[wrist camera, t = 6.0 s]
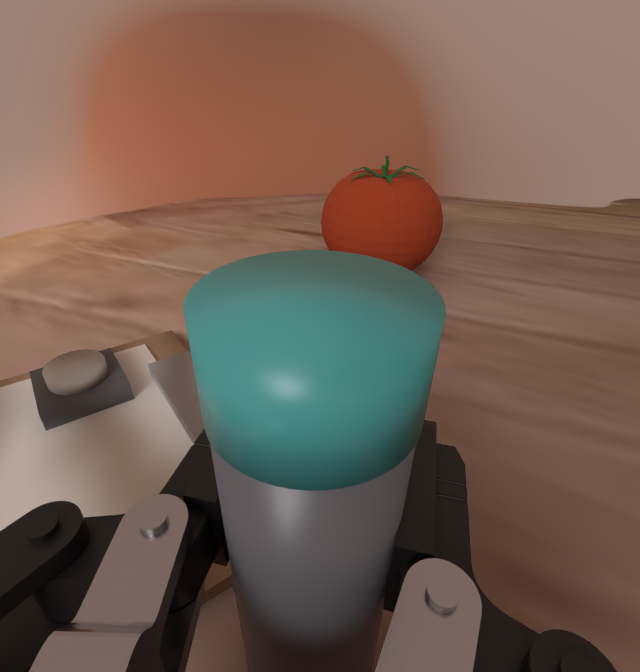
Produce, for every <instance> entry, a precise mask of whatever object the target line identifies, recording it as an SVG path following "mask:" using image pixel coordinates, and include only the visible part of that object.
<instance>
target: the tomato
mask: <svg viewBox="0 0 640 672" xmlns="http://www.w3.org/2000/svg"><path fill="white" fill-rule="evenodd" d="M388 166H389V156H386V165H382V169H372V170H371V169H369V168H366V167H362V168H364V169H365V170H361V171H356V170H358V169H356V170H353V171H356V172H353V173H351V174H350V175H348V176H346V177H345V178H343V179H342V180H341V181H340V182H339V183H338V184H337V185H336V186H335V187H334V188H333V189H332V191H331V192H330V194H329V195H328V197H327V199H326V202H325V204H324V207H323V213H322V220H321V225H322V234H323V237H324V240H325V243H326V245H327V247H328V249H329V250H330V251H339V252H348V253H355V254H360V255H366V256H370V257H374V258H378V259H382V260H385V261H388V262H392V263H394V264H397V265H399V266H402V267H405V268H407V269H409V270H413V269H414V268H416V267H417V266H418V265H419V264H421V263H422V262H424V261H425V260H426V259H427V257H428V256H429V255H430V254H431V253H432V251H433V250H434V248H435V246H436V244H437V243H438V241H439V238H440V235H441V231H442V221H443V215H442V209H441V204H440V201H439V199H438V196H437V194H436V193H435V191H434V190H433V189H432V188H431V186H430V185H429V184H428V183H427V182H425V181H424V180H423V179H424V178H422V177H420V176H418V175H416V174H414V173H413V172H404V171H402V170H403V169H405V168H406V167H408V166H403V167H402V168H400V169H399V170H388ZM362 168H360V169H362ZM409 168H411V167H409ZM412 169H415V168H412ZM416 170H417V169H416Z"/></svg>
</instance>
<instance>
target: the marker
mask: <svg viewBox="0 0 640 672" xmlns="http://www.w3.org/2000/svg"><path fill="white" fill-rule="evenodd" d="M445 315H446V311H445V304H444V301H443V298H442V297H441V295H440V294H439V292H438V291H437V290H436V289H435V287H434V286H433V285H432V284H431V283H429V282H428V281H427V280H425V279H424V278H423V277H421V276H419V275H418V274H416V273H415V272H413V271H411V270H409V269H407V268H405V267H402V266H399V265H397V264H394V263H392V262H388V261H385V260H382V259H378V258H374V257H370V256H366V255H360V254H355V253H348V252H339V251H325V250H297V251H283V252H275V253H268V254H262V255H257V256H253V257H249V258H245V259H241V260H238V261H235V262H232V263H229V264H227V265H224V266H222V267H220V268H218V269H216V270H214V271H212V272H210V273H209V274H207V275H206V276H204V277H203V278H201V279H200V280H199V281H198V282H197V283H196V284H195V285H194V286H193V287H192V288H191V289H190V291H189V292H188V294H187V296H186V298H185V302H184V316H185V322H186V328H187V333H188V339H189V345H190V351H191V356H192V362H193V368H194V374H195V379H196V385H197V391H198V397H199V402H200V408H201V414H202V420H203V425H204V429H205V432H206V435H207V438H208V439H209V441H210V447H211V453H212V459H213V465H214V471H215V477H216V483H217V489H218V495H219V501H220V506H221V512H222V518H223V524H224V530H225V536H226V542H227V548H228V554H229V560H230V566H231V572H232V578H233V584H234V590H235V596H236V602H237V608H238V613H239V619H240V625H241V631H242V637H243V643H244V649H245V655H246V661H247V667H248V672H371V670H372V665H373V660H374V655H375V650H376V645H377V640H378V635H379V630H380V624H381V619H382V614H383V605H384V596H385V590H386V585H387V579H388V574H389V569H390V564H391V558H392V553H393V548H394V543H395V538H396V532H397V529H398V527H399V524H400V522H401V517H402V513H403V508H404V503H405V498H406V493H407V488H408V482H409V477H410V472H411V467H412V462H413V457H414V452H415V447H416V444H417V442H418V439H419V437H420V435H421V432H422V428H423V423H424V418H425V413H426V408H427V403H428V398H429V393H430V389H431V384H432V379H433V374H434V369H435V364H436V359H437V354H438V349H439V344H440V339H441V334H442V329H443V324H444V319H445Z"/></svg>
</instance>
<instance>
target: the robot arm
mask: <svg viewBox="0 0 640 672" xmlns="http://www.w3.org/2000/svg"><path fill="white" fill-rule="evenodd" d="M228 562H229V554H228V548H227V542H226V536H225V530H224V524H223V518H222V512H221V506H220V501H219V495H218V489H217V483H216V477H215V471H214V465H213V459H212V453H211V447H210V441H209V439H208V438H207V435H206V432H205V429H203V432H202V433H200V435H199V436H198V438H197V439H196V441H195V443H194V445H192V446H191V448H190V449H189V451H188V452H187V454H186V455H185V457H184V458H183V460H182V461H181V463H180V464H179V466H178V467H177V468H176V470H175V471H174V473H173V474H172V476H171V477H170V479H169V480H168V482H167V483H166V485H165V486H164V488H163V489H162V490H161V492H160V493H159V494H158V495H153V496H150V497H147V498H145V499H143V500H141V501H139V502H138V503H136V504H135V505H134V506H132V507H131V508H130V509H129V510H128V511H127V512H126V513H125V514H118V515H107V516H95V517H83V515H82V512H81V510H80V509H79V507H78V506H77V505H75V504H74V503H72V502H68V501H54V502H50V503H46V504H43V505H41V506H38V507H36V508H34V509H33V510H31V511H29V512H28V513H26V514H25V515H23V516H22V517H20V518H19V519H17V520H16V521H14V522H13V523H11V524H10V525H9V526H7V527H6V528H4V529H3V530H1V531H0V672H185V669H186V665H187V661H188V657H189V653H190V649H191V644H192V640H193V636H194V632H195V628H196V624H197V620H198V616H199V612H200V607H201V603H202V599H203V595H204V590H205V581H204V580H205V578H206V576H207V574H208V572H209V570H210V568H211V565H212V563H215V564H219V565H223V566H227V564H228ZM383 609H384V610H388V611H392V612H393V616H392V619H391V622H390V626H389V629H388V632H387V635H386V638H385V641H384V644H383V647H382V650H381V654H380V657H379V660H378V663H377V666H376V669H375V672H617V671H616V670H615V668H614V667H613V665H612V664H611V663H610V661H609V660H608V659H607V658H606V657H605V656H604V655H603V654H602V653H601V652H600V651H599V650H598V649H597V648H596V647H595V646H594V645H592V644H591V643H590V642H588V641H587V640H585V639H584V638H582V637H580V636H578V635H576V634H574V633H571V632H568V631H565V630H548V631H545V632H543V633H541V634H538V633H536V632H535V631H533V630H531V629H530V628H528V627H526V626H525V625H523V624H521V623H520V622H518V621H516V620H515V619H513V618H511V617H510V616H508V615H506V614H505V613H503V612H502V611H500V610H499V609H498V608H497V607H496V606H494V605H493V604H492V603H491V602H490V601H489V600H488V598H487V597H486V596H485V595H484V593H483V592H482V591H481V589H480V587H479V586H478V584H477V582H476V580H475V577H474V574H473V571H472V565H471V552H470V536H469V521H468V505H467V489H466V474H465V464H464V462H463V460H462V458H461V457H460V455H459V453H458V451H457V449H456V448H455V447H453V446H448V445H442V444H437V443H436V422H432V421H426V420H424V423H423V428H422V432H421V435H420V437H419V439H418V442H417V444H416V447H415V452H414V457H413V462H412V467H411V472H410V477H409V482H408V488H407V493H406V498H405V503H404V508H403V513H402V517H401V522H400V524H399V527H398V529H397V532H396V538H395V543H394V548H393V553H392V558H391V564H390V569H389V574H388V579H387V585H386V590H385V596H384V605H383Z"/></svg>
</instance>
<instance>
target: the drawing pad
mask: <svg viewBox="0 0 640 672" xmlns="http://www.w3.org/2000/svg"><path fill="white" fill-rule="evenodd" d="M203 429H204V425H203V420H202V414H201V408H200V402H199V397H198V391H197V385H196V379H195V374H194V368H193V362H192V356H191V351H188V350H187V349H186V348H185V347H184V345H183V344H182V343H181V342H180V340H179V339H178V338H177V337H176V336H175V334H174V333H173V332H172V331H168V332H165V333H161V334H158V335H154V336H151V337H148V338H144V339H141V340H137V341H134V342H131V343H127V344H124V345H121V346H117V347H114V348H108V349H105V350H101V351H95V350H76V351H72V352H68V353H65V354H62V355H60V356H58V357H56V358H54V359H53V360H51V361H50V362H48V363H47V364H46V365H45V367H44V368H40V369H37V370H33V371H30V372H29V373H25V374H22V375H19V376H15V377H12V378H8V379H5V380H2V381H0V531H1V530H3V529H4V528H6V527H7V526H9V525H10V524H11V523H13V522H14V521H16V520H17V519H19V518H20V517H22V516H23V515H25V514H26V513H28V512H29V511H31V510H33V509H34V508H36V507H38V506H41V505H43V504H46V503H50V502H54V501H68V502H72V503H74V504H75V505H77V506H78V507H79V509H80V510H81V512H82V515H83V517H95V516H107V515H118V514H125V513H126V512H127V511H128V510H129V509H130V508H131V507H132V506H134V505H135V504H136V503H138V502H139V501H141V500H143V499H145V498H147V497H150V496H153V495H158V494H159V493H160V492H161V490H162V489H163V488H164V486H165V485H166V483H167V482H168V480H169V479H170V477H171V476H172V474H173V473H174V471H175V470H176V468H177V467H178V466H179V464H180V463H181V461H182V460H183V458H184V457H185V455H186V454H187V452H188V451H189V449H190V448H191V446H192V445H194V443H195V441H196V439H197V438H198V436H199V435H200V433H202V432H203ZM204 581H205V590H204V595H203V599H202V603H201V605H202V604H204V603H205V602H207V601H208V600H210V599H211V598H213V597H214V596H216V595H217V594H219V593H220V592H222V591H223V590H225V589H226V588H228V587H230V586H231V585H233V578H232V572H231V566H230V560H229V562H228V564H227V566H223V565H219V564H215V563H212V565H211V568H210V570H209V572H208V574H207V576H206V578H205V580H204Z"/></svg>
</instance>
